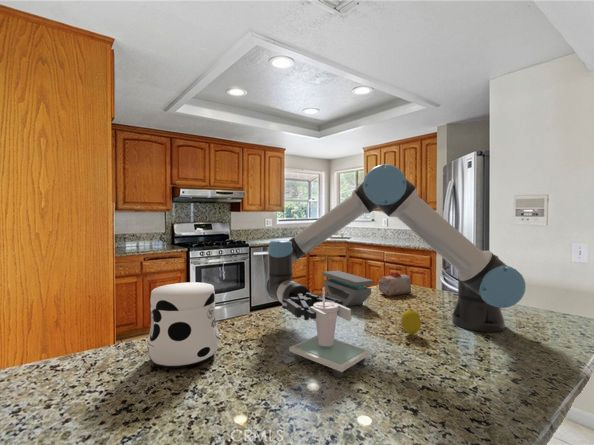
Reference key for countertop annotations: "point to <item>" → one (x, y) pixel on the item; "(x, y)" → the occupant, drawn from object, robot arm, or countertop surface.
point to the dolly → (330, 354)
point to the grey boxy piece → (395, 284)
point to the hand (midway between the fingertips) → (337, 317)
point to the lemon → (411, 321)
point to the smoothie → (327, 330)
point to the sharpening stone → (347, 287)
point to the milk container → (182, 324)
